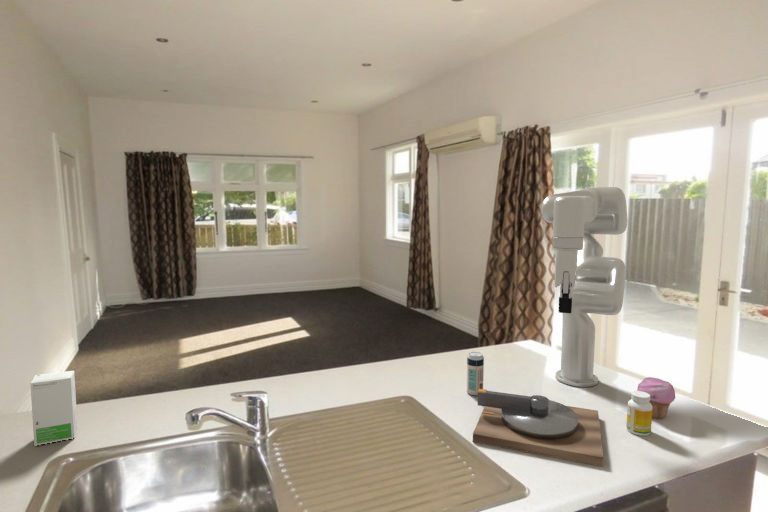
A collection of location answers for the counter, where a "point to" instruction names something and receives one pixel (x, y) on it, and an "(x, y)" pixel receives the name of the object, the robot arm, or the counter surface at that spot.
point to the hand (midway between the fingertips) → (564, 312)
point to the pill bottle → (475, 372)
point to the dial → (532, 414)
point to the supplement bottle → (639, 414)
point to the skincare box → (53, 407)
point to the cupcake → (658, 395)
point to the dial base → (574, 447)
